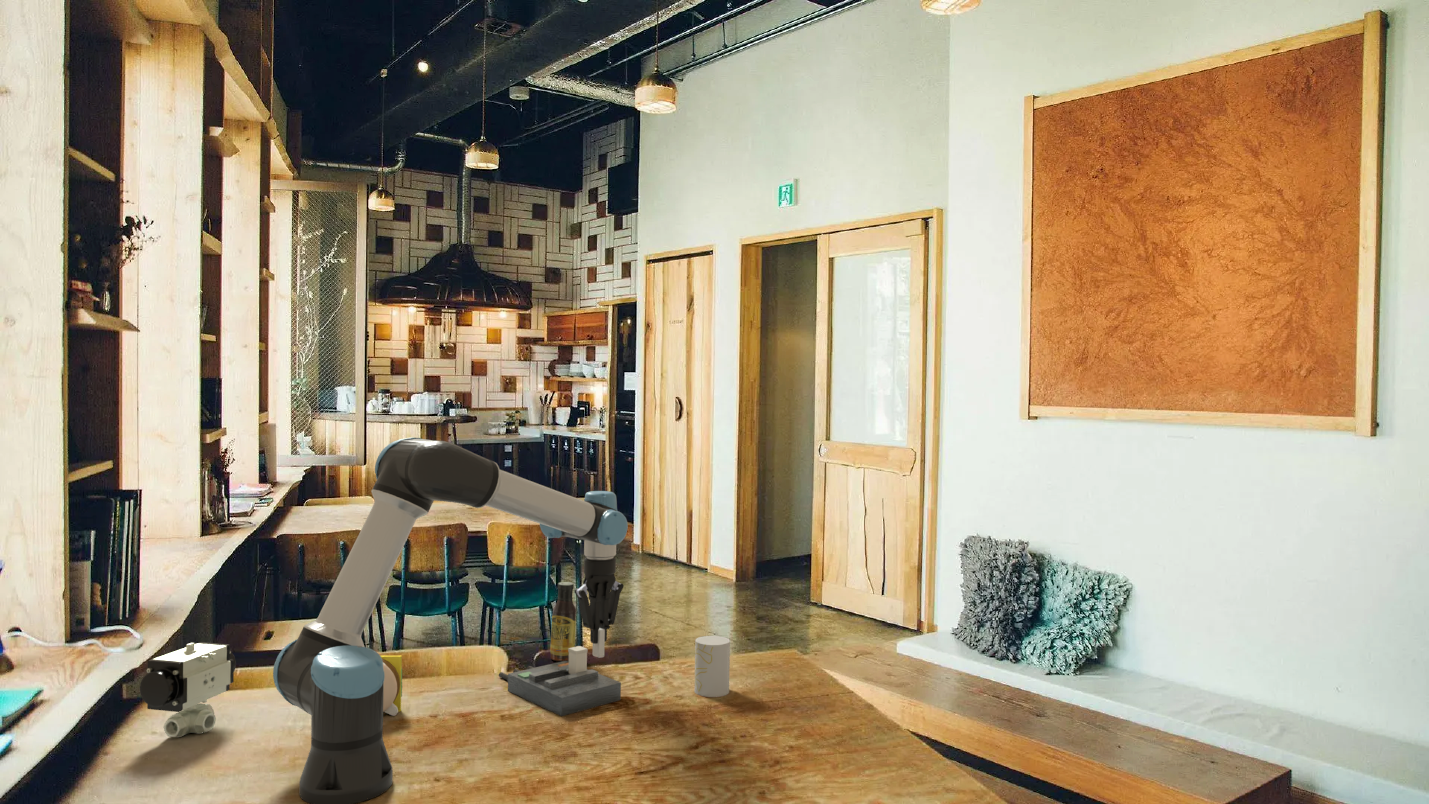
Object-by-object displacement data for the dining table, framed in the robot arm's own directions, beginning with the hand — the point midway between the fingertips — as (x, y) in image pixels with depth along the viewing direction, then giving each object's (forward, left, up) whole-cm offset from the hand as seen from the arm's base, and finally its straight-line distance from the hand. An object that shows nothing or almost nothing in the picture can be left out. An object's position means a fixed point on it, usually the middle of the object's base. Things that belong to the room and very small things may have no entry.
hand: (598, 656), depth 216 cm
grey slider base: (+5, +10, -7) cm, 13 cm away
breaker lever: (0, +6, -3) cm, 7 cm away
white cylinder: (-20, -18, -8) cm, 28 cm away
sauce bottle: (+24, -6, -8) cm, 26 cm away
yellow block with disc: (+17, +48, -8) cm, 51 cm away
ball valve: (+30, +79, -8) cm, 85 cm away
